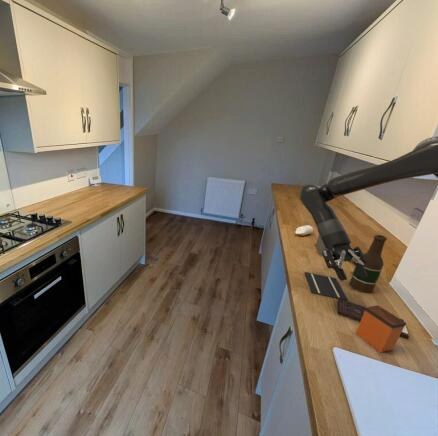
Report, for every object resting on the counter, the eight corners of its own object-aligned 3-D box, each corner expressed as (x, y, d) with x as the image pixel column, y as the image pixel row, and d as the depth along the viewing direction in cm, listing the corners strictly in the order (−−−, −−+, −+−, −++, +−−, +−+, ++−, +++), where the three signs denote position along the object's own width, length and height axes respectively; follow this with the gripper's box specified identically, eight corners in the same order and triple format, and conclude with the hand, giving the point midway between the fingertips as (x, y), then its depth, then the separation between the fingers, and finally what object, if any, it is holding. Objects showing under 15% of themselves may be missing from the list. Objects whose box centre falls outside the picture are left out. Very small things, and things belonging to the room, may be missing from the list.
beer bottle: (344, 283, 103) (362, 232, 95) (359, 281, 104) (378, 231, 96) (362, 294, 96) (383, 241, 88) (378, 292, 97) (400, 239, 89)
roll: (302, 230, 144) (300, 238, 146) (314, 227, 149) (312, 235, 151) (293, 226, 149) (291, 234, 151) (304, 223, 154) (302, 231, 156)
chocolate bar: (338, 298, 92) (403, 319, 82) (337, 300, 92) (402, 321, 82) (338, 311, 85) (409, 336, 75) (337, 313, 86) (407, 338, 75)
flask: (332, 257, 124) (344, 222, 117) (319, 254, 127) (330, 220, 119) (326, 245, 137) (337, 213, 130) (315, 243, 139) (324, 211, 132)
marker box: (366, 330, 79) (377, 305, 75) (392, 350, 72) (406, 323, 68) (355, 332, 78) (366, 307, 74) (380, 352, 71) (394, 325, 67)
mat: (335, 278, 106) (335, 277, 106) (347, 300, 92) (348, 299, 92) (304, 272, 110) (304, 271, 110) (311, 292, 97) (311, 291, 96)
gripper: (325, 231, 81) (347, 279, 74) (358, 228, 84) (382, 274, 77) (308, 238, 87) (327, 283, 81) (339, 235, 90) (360, 278, 84)
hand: (354, 278), depth 79 cm, fingers open, 8 cm apart
